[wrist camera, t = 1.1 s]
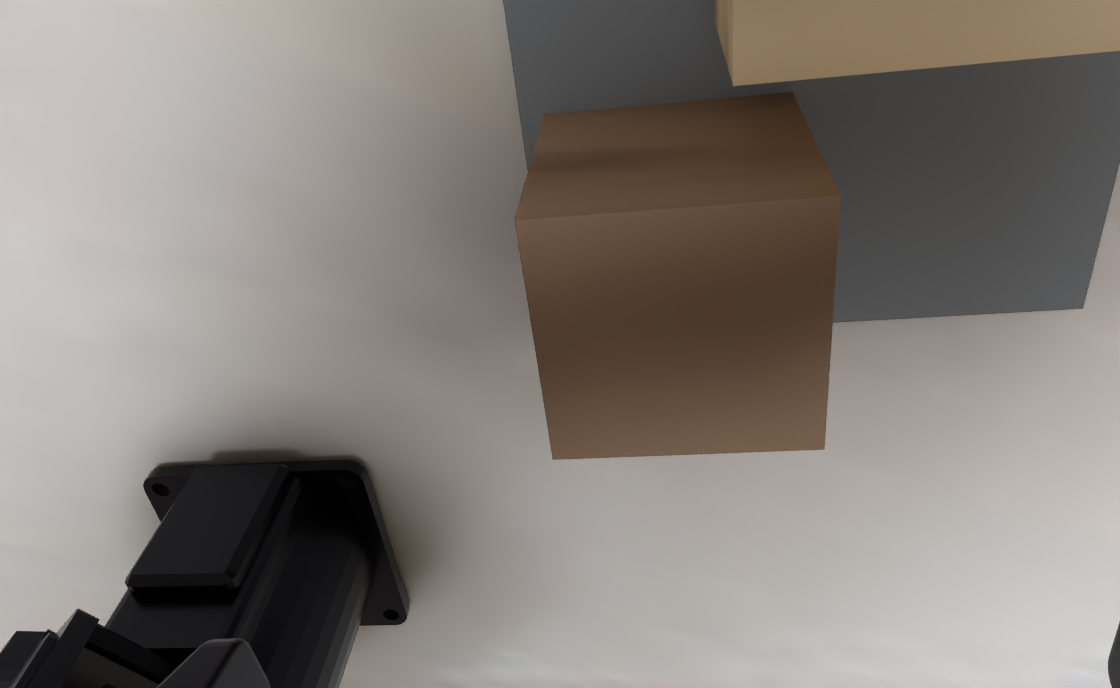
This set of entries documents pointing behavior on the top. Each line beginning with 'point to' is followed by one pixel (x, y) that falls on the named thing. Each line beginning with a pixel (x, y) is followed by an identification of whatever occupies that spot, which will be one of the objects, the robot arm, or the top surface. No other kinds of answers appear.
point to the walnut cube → (681, 278)
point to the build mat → (879, 151)
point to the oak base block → (903, 34)
